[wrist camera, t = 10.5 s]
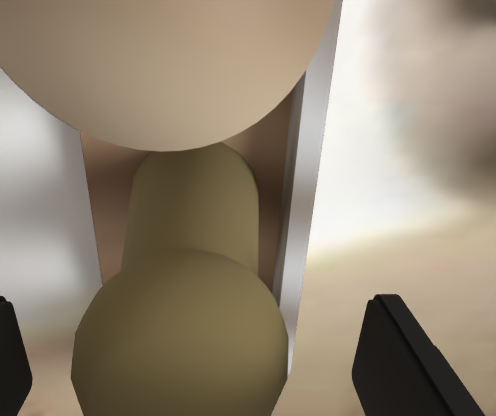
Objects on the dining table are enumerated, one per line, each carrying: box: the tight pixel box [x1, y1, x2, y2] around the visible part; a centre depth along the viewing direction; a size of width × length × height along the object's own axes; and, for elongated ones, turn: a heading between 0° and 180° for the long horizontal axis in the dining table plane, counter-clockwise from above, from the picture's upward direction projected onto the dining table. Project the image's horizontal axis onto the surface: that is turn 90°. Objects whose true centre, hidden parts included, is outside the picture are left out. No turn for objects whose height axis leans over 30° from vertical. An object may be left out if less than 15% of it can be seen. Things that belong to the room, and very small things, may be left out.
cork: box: [71, 142, 289, 416], centre depth 13 cm, size 6×6×11 cm
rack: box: [0, 0, 343, 374], centre depth 14 cm, size 22×10×10 cm, turn 177°
